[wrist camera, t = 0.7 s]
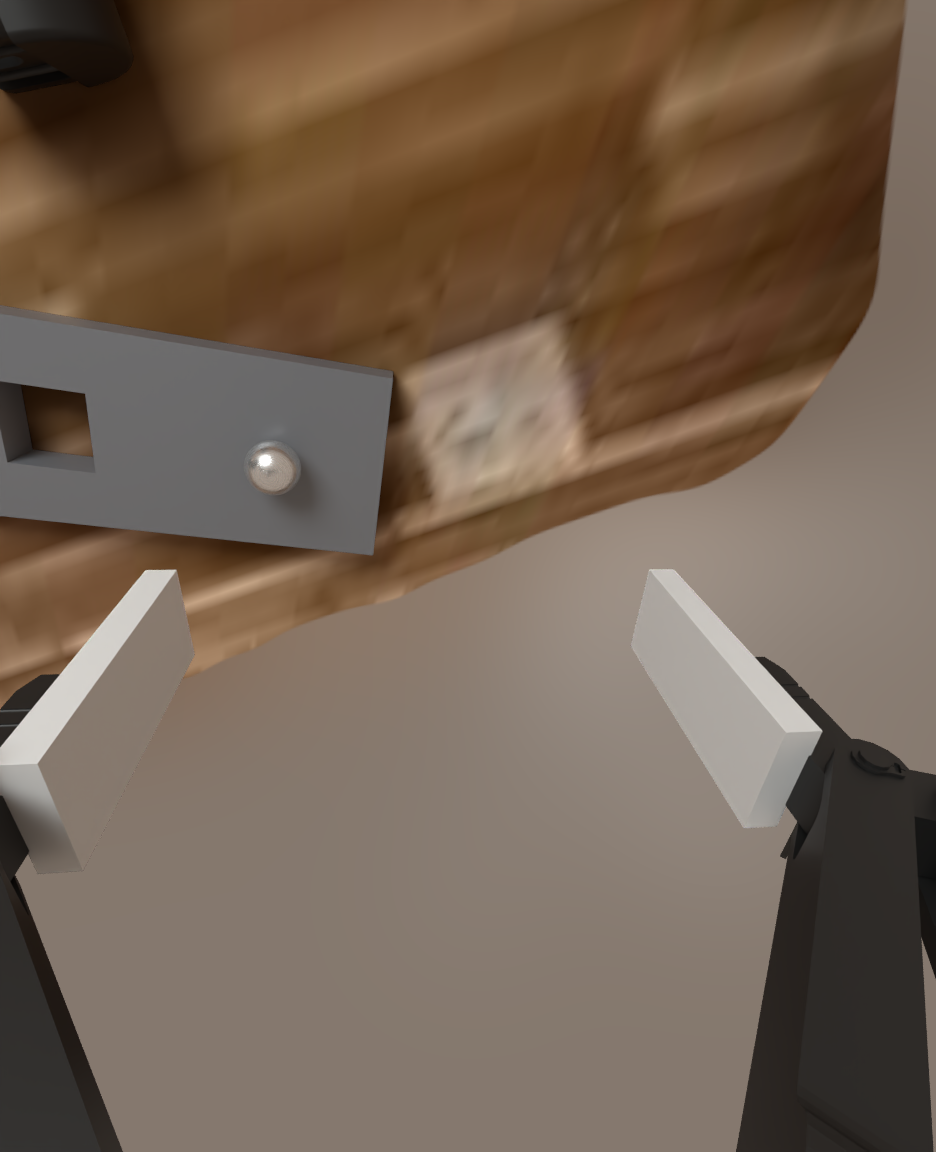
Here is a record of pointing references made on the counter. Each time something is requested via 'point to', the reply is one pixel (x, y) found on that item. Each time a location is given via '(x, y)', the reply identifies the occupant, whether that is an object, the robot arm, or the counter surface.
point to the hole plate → (192, 435)
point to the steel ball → (272, 467)
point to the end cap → (60, 43)
